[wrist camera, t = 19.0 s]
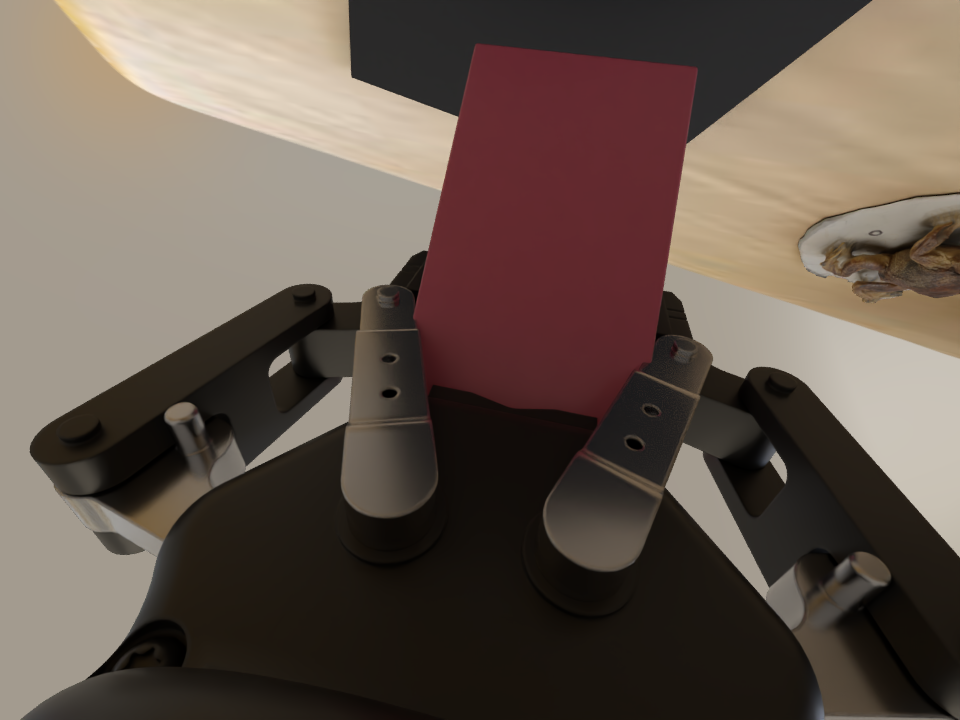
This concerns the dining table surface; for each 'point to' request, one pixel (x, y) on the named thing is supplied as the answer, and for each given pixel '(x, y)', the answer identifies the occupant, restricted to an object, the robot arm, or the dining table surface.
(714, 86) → the mat
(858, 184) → the dining table surface
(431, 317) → the block
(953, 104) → the dining table surface
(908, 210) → the frog figurine
